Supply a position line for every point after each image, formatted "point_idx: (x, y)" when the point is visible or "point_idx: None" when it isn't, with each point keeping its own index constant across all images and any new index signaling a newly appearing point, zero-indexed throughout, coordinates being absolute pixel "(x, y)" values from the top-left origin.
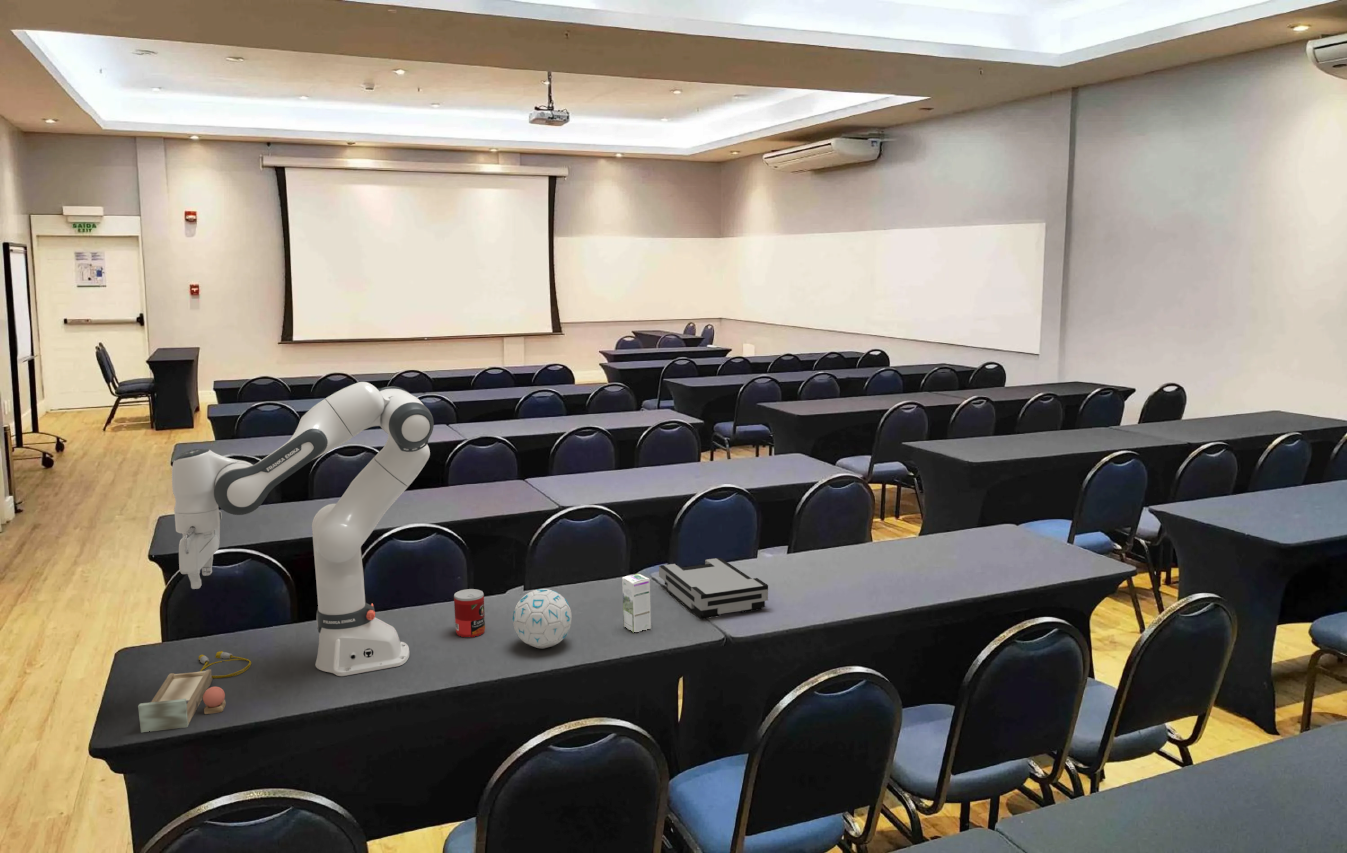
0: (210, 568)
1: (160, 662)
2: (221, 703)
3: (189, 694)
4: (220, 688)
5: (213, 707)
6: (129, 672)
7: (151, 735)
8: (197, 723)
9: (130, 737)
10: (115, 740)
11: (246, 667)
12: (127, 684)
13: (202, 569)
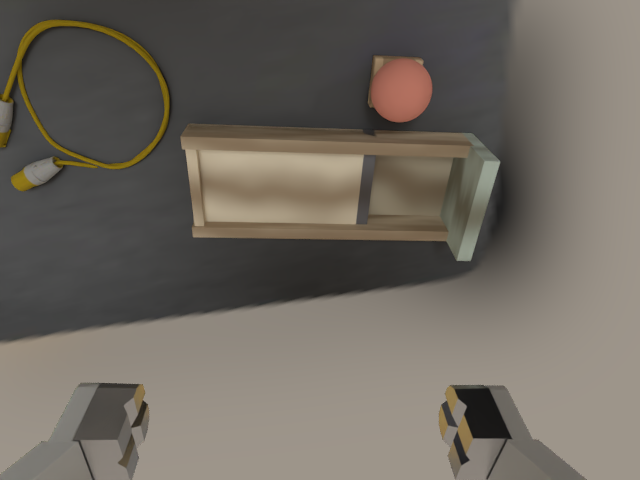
0: (107, 430)
1: (45, 270)
2: None
3: (325, 163)
4: (405, 76)
5: None
6: (106, 314)
7: None
8: (461, 112)
9: None
10: None
11: (106, 29)
12: (176, 302)
13: (131, 469)
